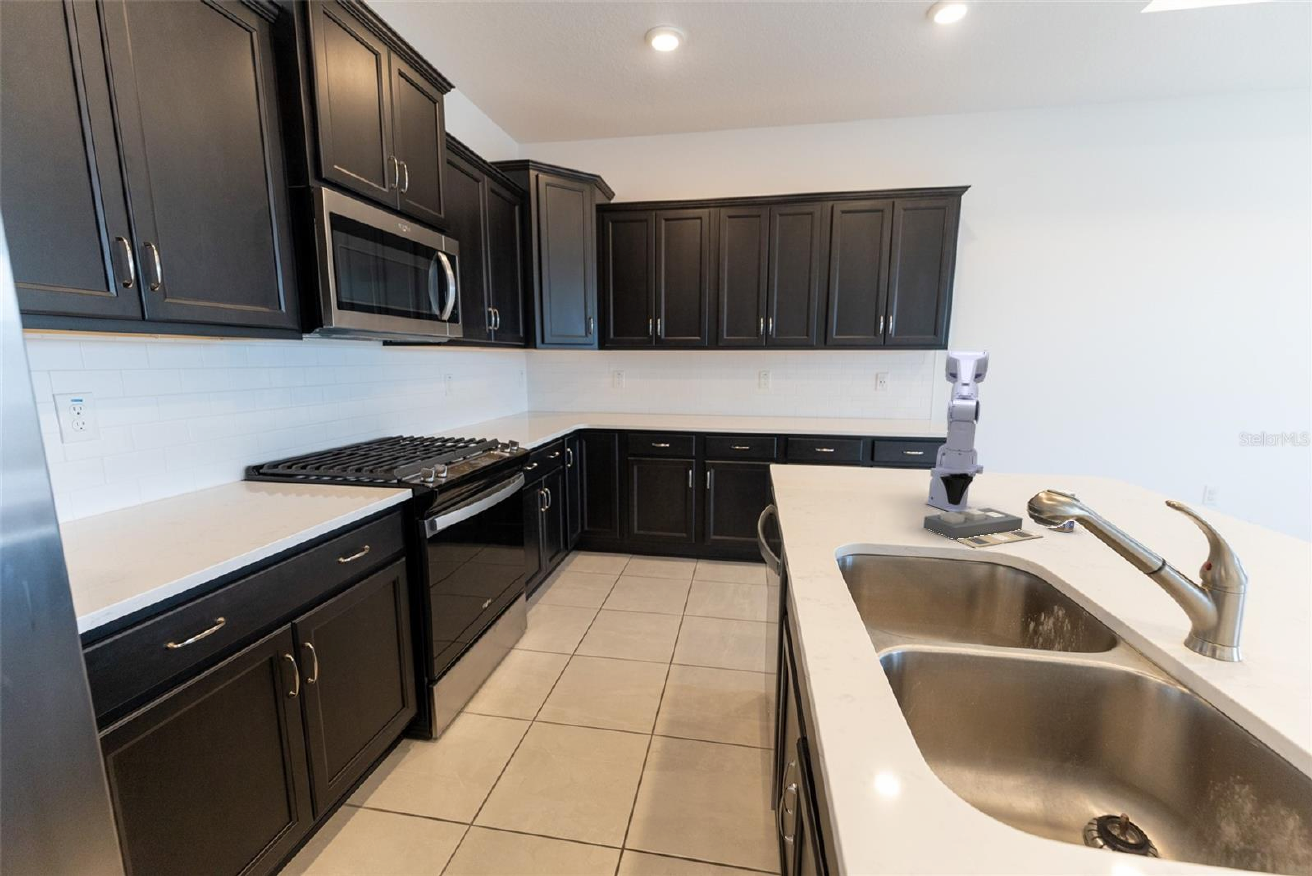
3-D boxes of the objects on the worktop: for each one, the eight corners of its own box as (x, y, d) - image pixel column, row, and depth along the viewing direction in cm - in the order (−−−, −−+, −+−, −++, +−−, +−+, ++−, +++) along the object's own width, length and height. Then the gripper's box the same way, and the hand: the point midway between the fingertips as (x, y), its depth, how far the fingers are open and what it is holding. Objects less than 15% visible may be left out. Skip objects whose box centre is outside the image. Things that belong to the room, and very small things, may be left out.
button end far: (981, 524, 135) (982, 513, 134) (991, 522, 136) (992, 511, 135) (994, 528, 131) (995, 517, 131) (1004, 527, 132) (1005, 515, 132)
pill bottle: (1064, 525, 134) (1069, 488, 132) (1078, 533, 129) (1084, 494, 127) (1041, 524, 134) (1046, 488, 133) (1055, 532, 129) (1060, 494, 127)
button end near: (939, 524, 130) (940, 512, 129) (950, 523, 131) (952, 511, 130) (952, 529, 126) (953, 517, 126) (963, 527, 128) (964, 515, 127)
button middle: (961, 521, 132) (962, 510, 132) (971, 520, 133) (973, 508, 133) (973, 526, 129) (975, 514, 128) (984, 524, 130) (986, 513, 129)
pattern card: (956, 540, 123) (956, 539, 123) (1023, 530, 130) (1023, 529, 130) (974, 548, 118) (974, 546, 118) (1043, 537, 126) (1043, 535, 126)
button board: (923, 527, 132) (924, 516, 131) (988, 518, 139) (989, 508, 138) (954, 540, 124) (955, 527, 123) (1021, 529, 131) (1022, 518, 130)
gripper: (950, 454, 119) (944, 511, 122) (997, 450, 124) (990, 505, 126) (925, 448, 126) (920, 503, 128) (970, 445, 131) (965, 498, 133)
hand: (953, 504), depth 128 cm, fingers closed
